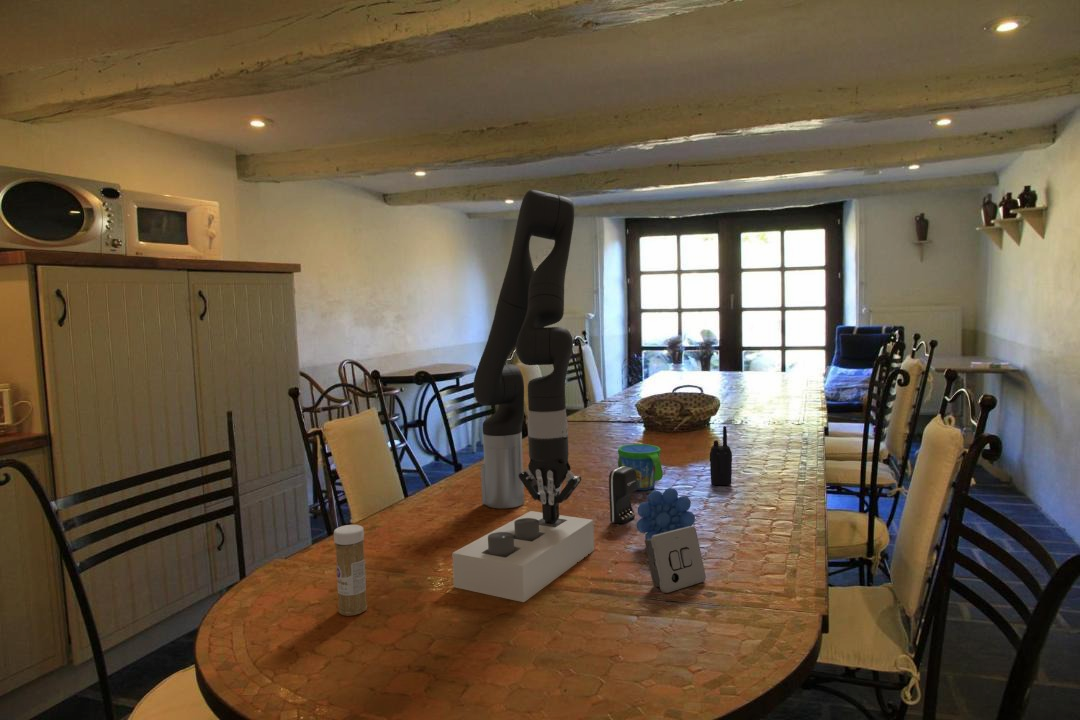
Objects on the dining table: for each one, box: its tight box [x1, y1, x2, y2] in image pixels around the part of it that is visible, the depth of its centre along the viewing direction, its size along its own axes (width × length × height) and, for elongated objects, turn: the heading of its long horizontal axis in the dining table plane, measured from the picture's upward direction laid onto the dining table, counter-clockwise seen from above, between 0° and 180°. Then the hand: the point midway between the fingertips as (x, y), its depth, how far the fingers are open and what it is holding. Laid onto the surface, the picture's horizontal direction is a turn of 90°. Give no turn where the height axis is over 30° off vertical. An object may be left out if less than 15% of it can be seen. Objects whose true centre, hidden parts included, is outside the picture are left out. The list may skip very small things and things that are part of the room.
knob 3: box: [539, 520, 562, 527], centre depth 136 cm, size 4×4×5 cm
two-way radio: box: [709, 425, 733, 486], centre depth 179 cm, size 6×4×15 cm
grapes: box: [636, 487, 696, 541], centre depth 136 cm, size 12×7×12 cm, turn 61°
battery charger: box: [608, 466, 638, 524], centre depth 154 cm, size 7×4×11 cm, turn 144°
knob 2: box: [514, 518, 539, 542], centre depth 128 cm, size 4×4×5 cm
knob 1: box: [488, 532, 514, 558], centre depth 121 cm, size 4×4×5 cm
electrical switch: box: [644, 525, 707, 594], centre depth 119 cm, size 9×5×9 cm, turn 121°
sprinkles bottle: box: [333, 524, 368, 617], centre depth 112 cm, size 5×5×14 cm
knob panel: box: [451, 510, 595, 603], centre depth 128 cm, size 14×26×6 cm, turn 150°
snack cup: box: [617, 443, 664, 491], centre depth 180 cm, size 16×10×10 cm
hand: (551, 522), depth 135 cm, fingers closed
